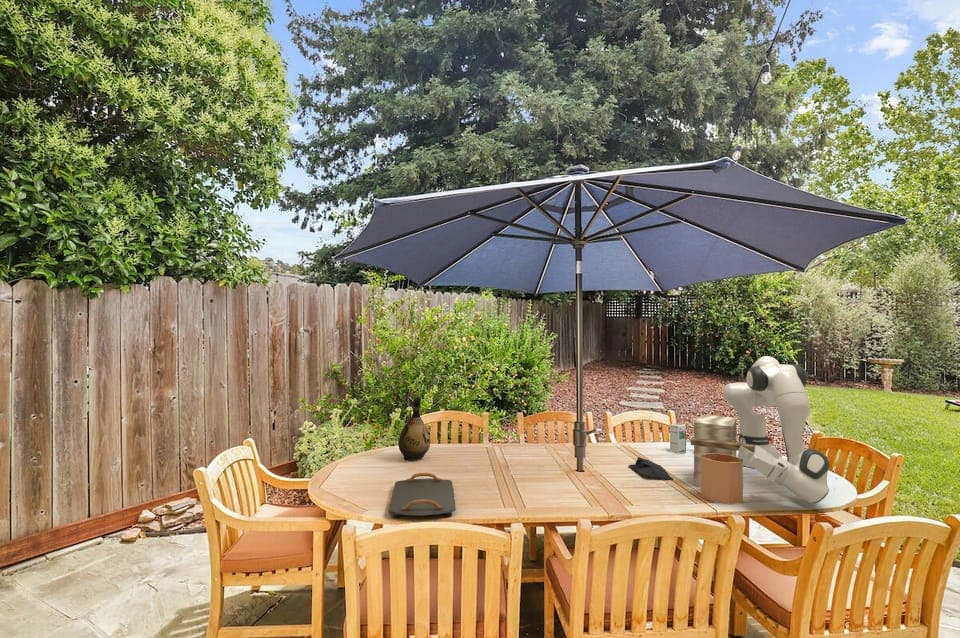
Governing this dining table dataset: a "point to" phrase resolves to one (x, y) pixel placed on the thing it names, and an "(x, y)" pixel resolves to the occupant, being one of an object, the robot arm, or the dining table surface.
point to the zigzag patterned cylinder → (712, 438)
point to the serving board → (422, 496)
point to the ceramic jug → (414, 435)
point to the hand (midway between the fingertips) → (740, 445)
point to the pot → (722, 478)
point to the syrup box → (678, 438)
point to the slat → (721, 444)
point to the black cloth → (650, 469)
